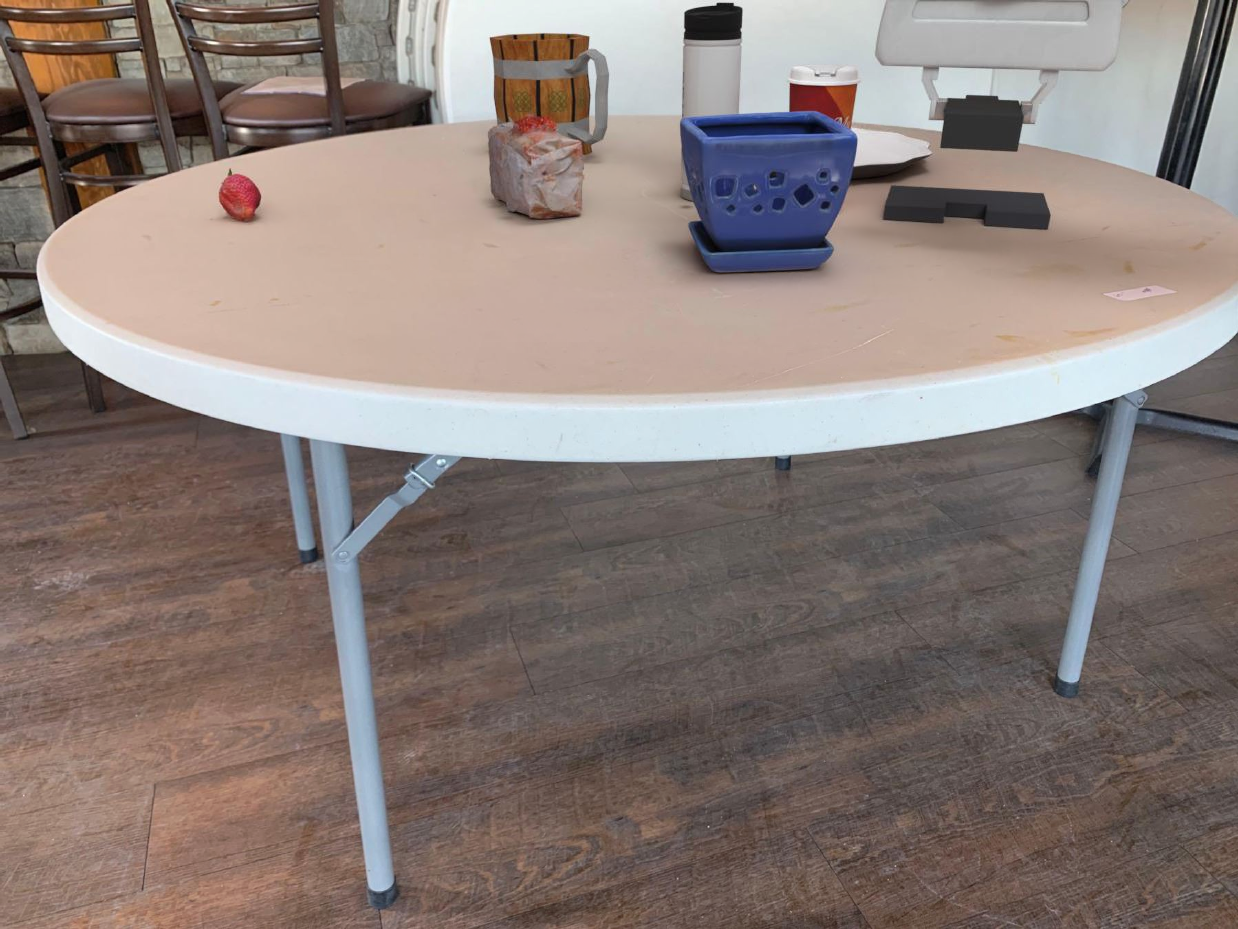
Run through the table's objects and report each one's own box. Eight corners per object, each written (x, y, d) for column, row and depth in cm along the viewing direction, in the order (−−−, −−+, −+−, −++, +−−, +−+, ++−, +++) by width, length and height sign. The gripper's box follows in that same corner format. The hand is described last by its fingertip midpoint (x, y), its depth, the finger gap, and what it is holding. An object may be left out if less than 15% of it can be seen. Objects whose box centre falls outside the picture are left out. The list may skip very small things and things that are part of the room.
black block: (1011, 128, 95) (1017, 96, 94) (1017, 151, 84) (1024, 115, 83) (942, 125, 97) (947, 93, 95) (940, 148, 86) (945, 112, 85)
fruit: (228, 226, 101) (218, 177, 99) (219, 214, 106) (210, 168, 103) (270, 221, 103) (261, 173, 100) (259, 210, 107) (251, 163, 105)
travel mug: (745, 193, 112) (754, 2, 103) (720, 204, 107) (728, 5, 98) (696, 187, 115) (701, 1, 105) (670, 199, 110) (673, 4, 100)
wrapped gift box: (595, 217, 103) (593, 120, 98) (526, 226, 99) (520, 126, 95) (543, 193, 113) (539, 104, 109) (479, 201, 110) (472, 109, 105)
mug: (477, 152, 137) (468, 37, 130) (549, 140, 145) (545, 31, 138) (569, 171, 124) (564, 45, 117) (642, 156, 133) (642, 38, 126)
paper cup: (850, 211, 104) (864, 71, 97) (778, 209, 105) (787, 71, 98) (846, 195, 111) (859, 63, 104) (779, 193, 112) (787, 63, 105)
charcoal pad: (1041, 206, 105) (1044, 192, 104) (1047, 229, 96) (1051, 214, 95) (889, 198, 109) (891, 184, 108) (883, 219, 100) (884, 204, 100)
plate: (968, 159, 128) (971, 141, 127) (850, 197, 109) (853, 175, 108) (785, 136, 146) (786, 119, 145) (657, 164, 127) (657, 146, 126)
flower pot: (694, 283, 82) (698, 136, 76) (675, 241, 94) (677, 112, 88) (848, 278, 83) (863, 132, 77) (810, 237, 94) (821, 109, 89)
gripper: (1136, -50, 82) (1099, 120, 89) (889, -49, 88) (871, 111, 94) (1148, -50, 77) (1107, 131, 83) (884, -49, 82) (865, 121, 89)
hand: (980, 121), depth 89 cm, fingers closed on black block, 6 cm apart
